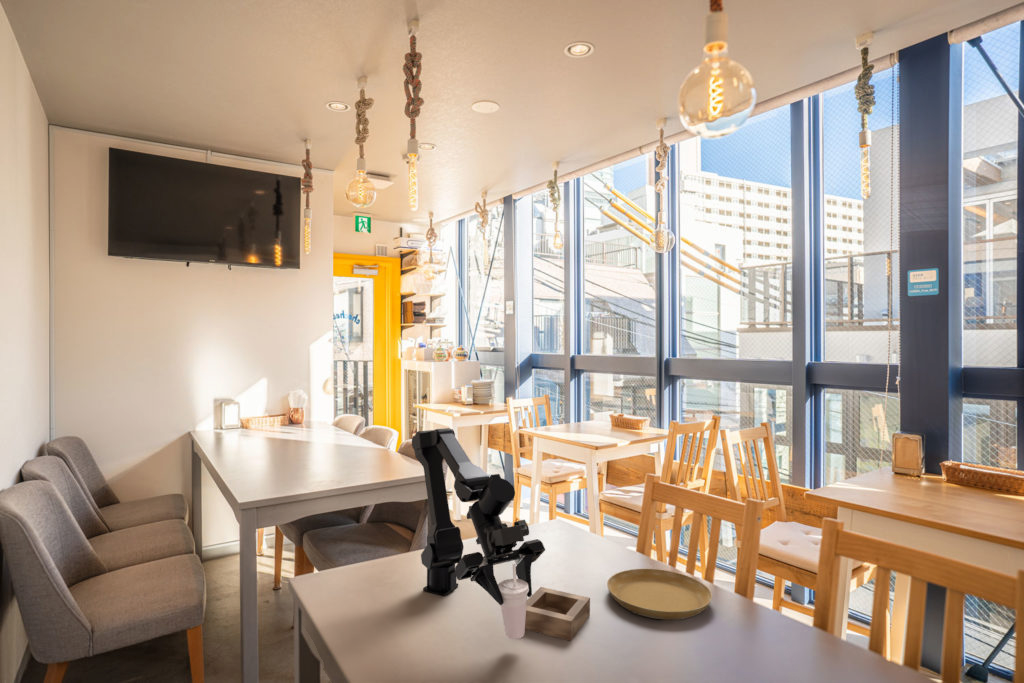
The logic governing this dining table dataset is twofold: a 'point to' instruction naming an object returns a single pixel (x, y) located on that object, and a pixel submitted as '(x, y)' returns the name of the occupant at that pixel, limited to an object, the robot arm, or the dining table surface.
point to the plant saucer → (659, 593)
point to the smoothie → (514, 605)
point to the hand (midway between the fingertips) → (516, 600)
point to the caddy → (556, 613)
